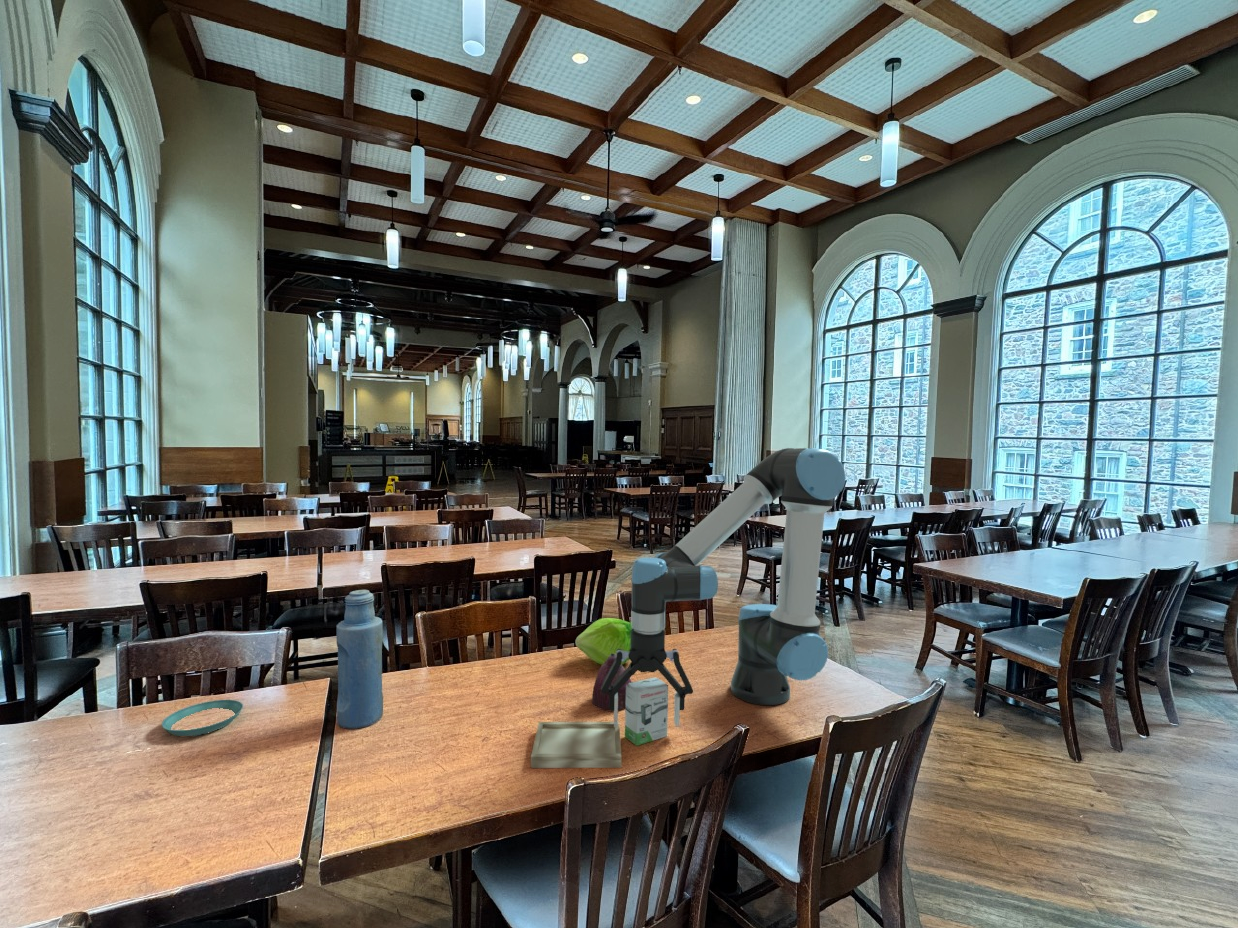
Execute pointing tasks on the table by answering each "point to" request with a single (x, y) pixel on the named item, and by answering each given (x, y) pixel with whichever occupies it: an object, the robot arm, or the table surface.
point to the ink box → (646, 710)
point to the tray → (576, 745)
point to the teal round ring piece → (187, 711)
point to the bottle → (359, 663)
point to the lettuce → (605, 639)
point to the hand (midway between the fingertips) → (646, 723)
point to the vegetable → (603, 699)
